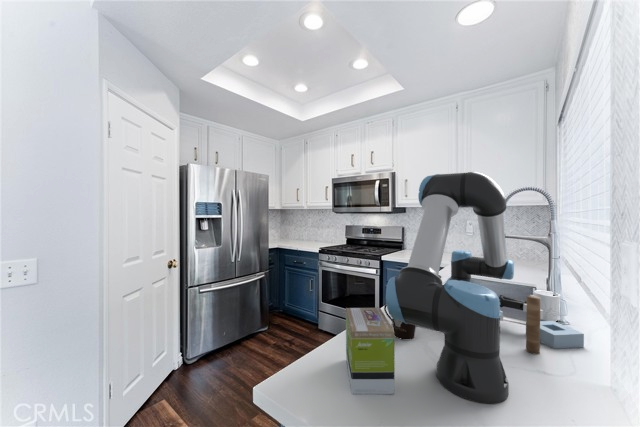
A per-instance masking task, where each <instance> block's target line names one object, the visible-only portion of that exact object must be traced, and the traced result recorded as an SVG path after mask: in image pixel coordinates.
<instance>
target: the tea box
mask: <svg viewBox="0 0 640 427" xmlns="http://www.w3.org/2000/svg"><path fill="white" fill-rule="evenodd" d="M384 313H385V312H384V311H383V310H382V309H381V307H345V349H346V350H345V359H346V365H347V366H346V367H347V372H348V377H349V384H350V385H349V386H350V391H351V394H352V395H395V387H396V386H395V383H396V382H395V381H396V379H395V378H396V377H395V366H396V365H395V364H396V363H395V362H396V361H395V339H396V338H395V335H394V329H393V326H391V324H390V322H389V320H388V318H387V317H386V315H385V314H384Z"/></svg>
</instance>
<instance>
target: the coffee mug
mask: <svg viewBox="0 0 640 427" xmlns="http://www.w3.org/2000/svg"><path fill="white" fill-rule="evenodd" d="M383 309H384V311H383V312H384V313H385V314H386V316H387V317H388V318H389V320H390V321H391V322H392V329H393V330H394V337H395V336H396V337H395V338H397V337H398V338H397V339H399V338H401V339H400V340H403V339H411V340H413V339H414V338H415V333H416V327H417V326H415V325H411V324H405V323H404V322H401V321H398V320H395V319H393V318H392V317H391V316H390V314H389V312H388V310H387V304H384V307H383Z"/></svg>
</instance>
